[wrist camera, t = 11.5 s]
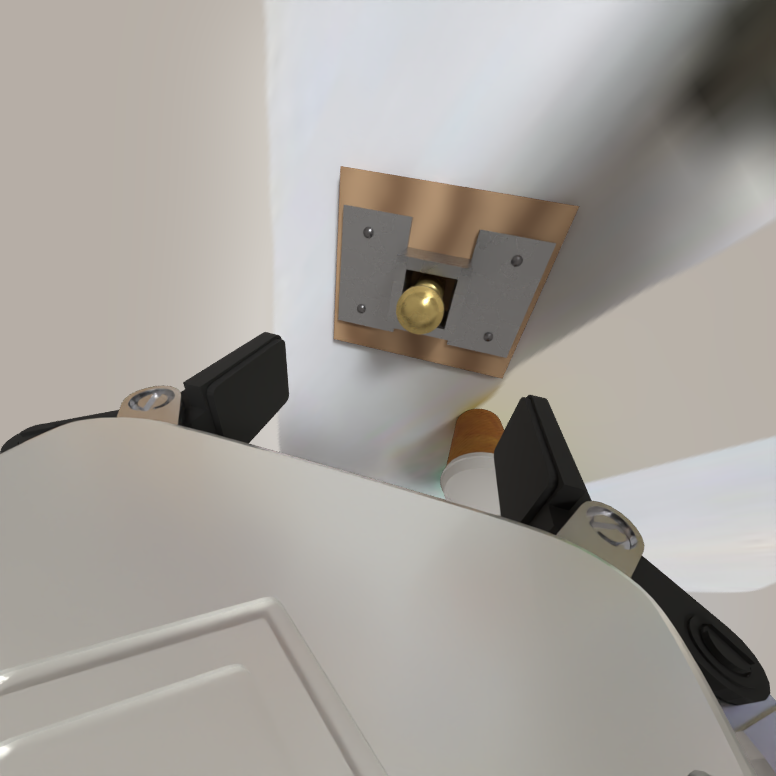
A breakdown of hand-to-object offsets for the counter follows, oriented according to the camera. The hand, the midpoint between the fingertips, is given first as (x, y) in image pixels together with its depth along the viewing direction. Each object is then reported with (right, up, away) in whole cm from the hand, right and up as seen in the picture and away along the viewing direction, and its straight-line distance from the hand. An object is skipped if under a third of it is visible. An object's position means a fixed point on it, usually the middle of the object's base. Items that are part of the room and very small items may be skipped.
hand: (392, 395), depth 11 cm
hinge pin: (+5, +12, +19) cm, 23 cm away
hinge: (+5, +11, +20) cm, 23 cm away
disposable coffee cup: (+13, -5, +30) cm, 33 cm away
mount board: (+5, +12, +21) cm, 24 cm away
